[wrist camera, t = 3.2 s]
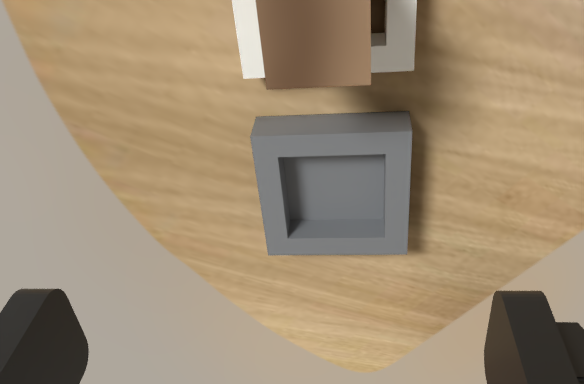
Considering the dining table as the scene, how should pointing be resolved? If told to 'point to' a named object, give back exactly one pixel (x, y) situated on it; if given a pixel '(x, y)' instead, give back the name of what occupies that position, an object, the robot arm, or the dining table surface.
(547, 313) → the robot arm
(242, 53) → the white pocket frame
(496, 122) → the dining table surface
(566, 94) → the dining table surface
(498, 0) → the dining table surface
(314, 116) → the gray pocket tray
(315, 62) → the walnut block
